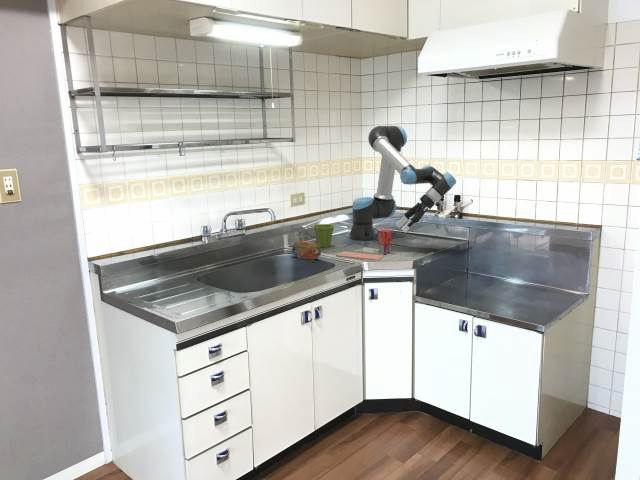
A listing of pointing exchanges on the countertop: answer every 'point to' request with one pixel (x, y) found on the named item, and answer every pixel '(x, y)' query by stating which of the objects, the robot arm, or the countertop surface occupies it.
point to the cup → (384, 239)
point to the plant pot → (323, 234)
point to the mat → (360, 255)
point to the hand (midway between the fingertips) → (400, 228)
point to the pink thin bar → (366, 252)
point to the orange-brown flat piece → (306, 250)
